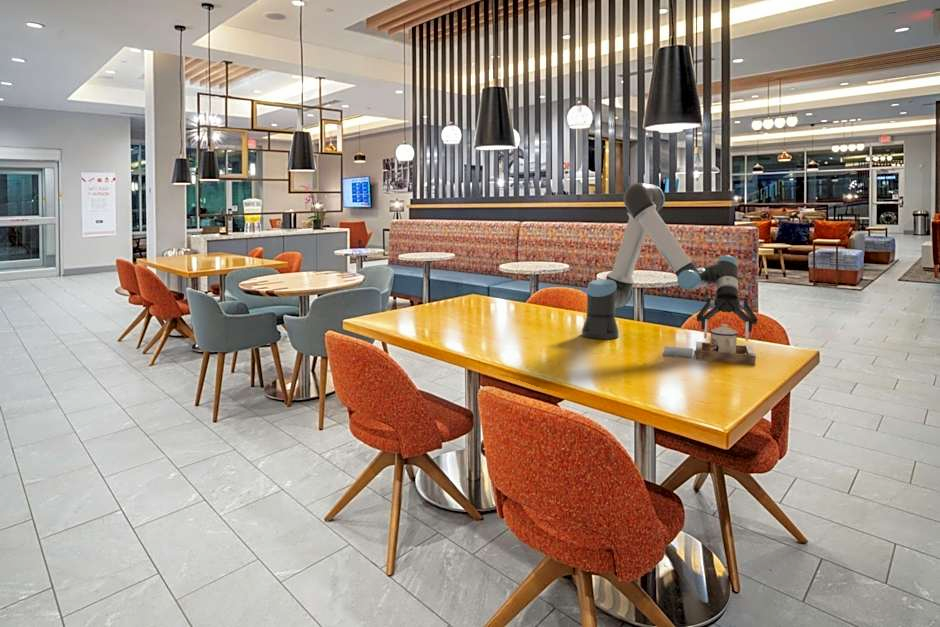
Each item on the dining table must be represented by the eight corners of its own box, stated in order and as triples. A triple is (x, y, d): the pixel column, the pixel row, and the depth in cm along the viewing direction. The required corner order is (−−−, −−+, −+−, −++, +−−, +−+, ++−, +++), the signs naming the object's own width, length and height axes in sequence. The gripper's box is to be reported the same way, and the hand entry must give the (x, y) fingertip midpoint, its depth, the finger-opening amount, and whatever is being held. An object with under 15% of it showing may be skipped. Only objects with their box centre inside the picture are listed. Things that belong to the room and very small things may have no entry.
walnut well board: (695, 359, 205) (695, 351, 205) (695, 349, 222) (696, 341, 221) (755, 364, 199) (755, 356, 198) (751, 353, 215) (751, 345, 215)
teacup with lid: (704, 352, 216) (706, 321, 214) (729, 353, 216) (731, 321, 214) (717, 360, 204) (720, 327, 203) (744, 360, 204) (746, 327, 202)
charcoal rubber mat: (662, 355, 211) (662, 354, 211) (665, 347, 225) (665, 346, 224) (692, 358, 207) (692, 357, 207) (693, 349, 221) (693, 348, 221)
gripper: (691, 283, 222) (689, 328, 210) (765, 285, 213) (766, 333, 201) (691, 295, 227) (688, 340, 216) (762, 298, 219) (763, 345, 207)
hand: (726, 337), depth 209 cm, fingers open, 13 cm apart
